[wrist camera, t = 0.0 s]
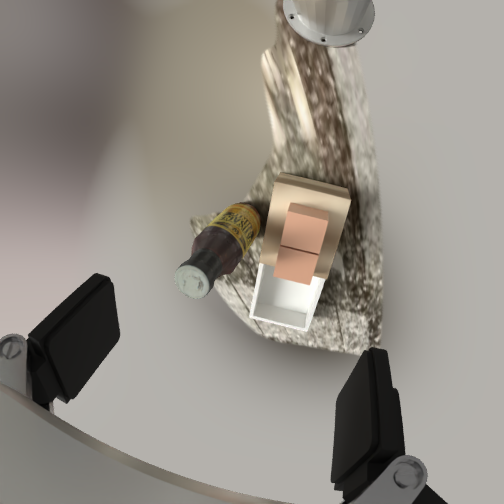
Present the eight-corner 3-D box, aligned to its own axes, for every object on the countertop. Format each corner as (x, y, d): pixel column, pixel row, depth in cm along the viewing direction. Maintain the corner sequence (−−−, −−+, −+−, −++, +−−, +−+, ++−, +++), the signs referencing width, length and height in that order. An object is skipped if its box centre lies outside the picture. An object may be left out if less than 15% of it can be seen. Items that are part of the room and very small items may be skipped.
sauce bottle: (270, 219, 47) (238, 290, 30) (244, 244, 50) (202, 321, 33) (239, 190, 46) (188, 245, 29) (214, 217, 49) (156, 281, 32)
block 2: (283, 235, 42) (279, 246, 39) (319, 244, 41) (318, 255, 38) (276, 263, 44) (272, 276, 41) (311, 272, 43) (309, 285, 40)
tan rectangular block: (280, 172, 44) (274, 181, 39) (347, 188, 43) (351, 200, 37) (266, 245, 50) (258, 262, 44) (327, 260, 48) (327, 279, 43)
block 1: (290, 202, 39) (287, 210, 36) (328, 211, 39) (328, 220, 36) (283, 233, 42) (280, 244, 38) (319, 242, 41) (319, 254, 38)
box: (266, 245, 50) (260, 257, 46) (327, 260, 48) (327, 274, 44) (254, 302, 55) (248, 317, 51) (308, 315, 54) (307, 331, 50)
